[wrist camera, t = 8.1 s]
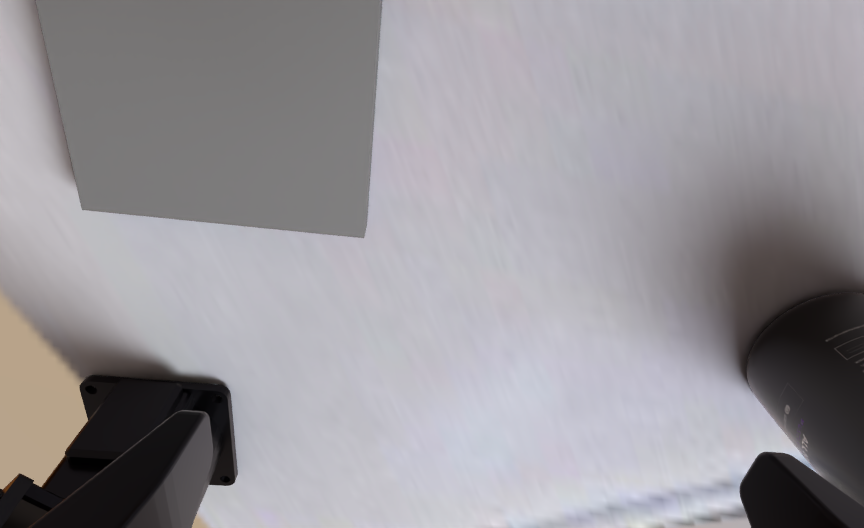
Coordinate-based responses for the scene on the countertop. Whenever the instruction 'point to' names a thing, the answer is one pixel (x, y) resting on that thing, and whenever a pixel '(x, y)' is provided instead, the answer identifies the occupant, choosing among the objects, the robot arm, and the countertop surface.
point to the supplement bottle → (817, 384)
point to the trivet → (219, 108)
